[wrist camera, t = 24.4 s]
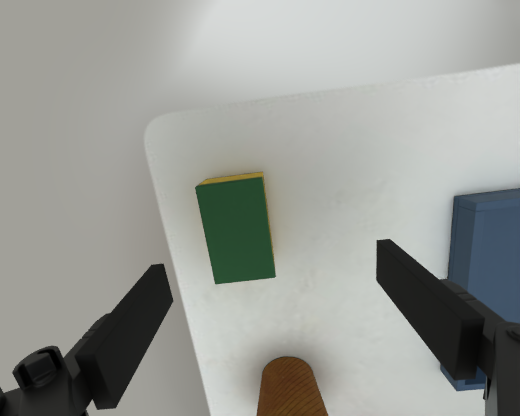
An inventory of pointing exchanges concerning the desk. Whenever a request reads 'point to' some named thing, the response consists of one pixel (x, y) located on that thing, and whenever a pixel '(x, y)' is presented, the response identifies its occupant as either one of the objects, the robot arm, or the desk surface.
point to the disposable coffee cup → (289, 390)
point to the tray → (487, 258)
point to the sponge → (237, 227)
